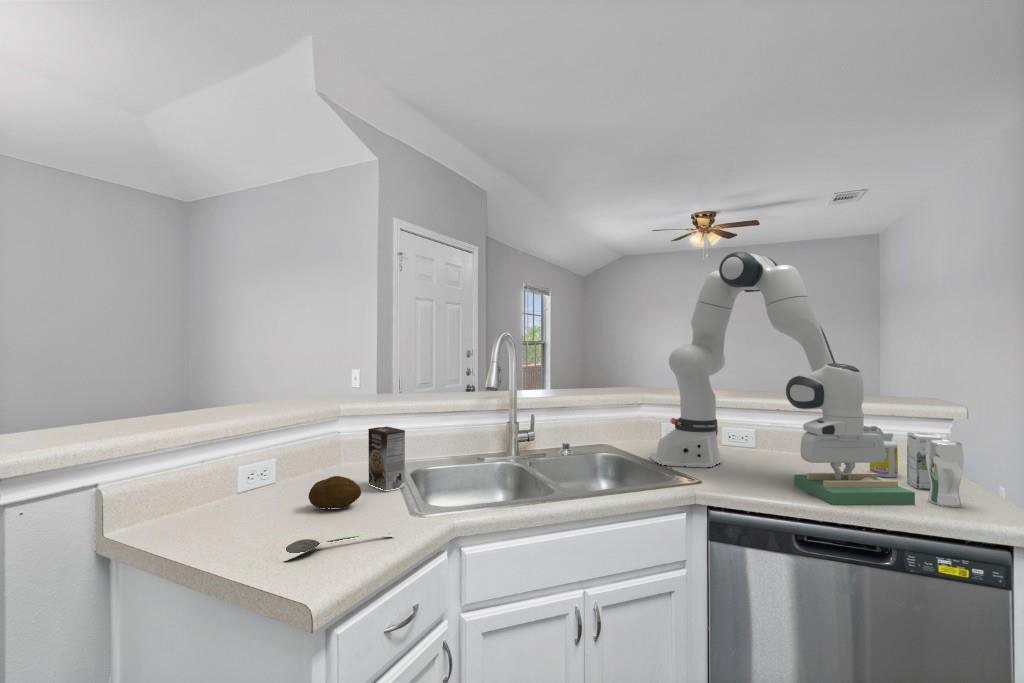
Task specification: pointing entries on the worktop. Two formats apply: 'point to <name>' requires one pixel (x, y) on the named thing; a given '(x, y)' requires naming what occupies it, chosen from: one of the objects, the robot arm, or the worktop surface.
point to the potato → (334, 493)
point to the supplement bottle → (887, 458)
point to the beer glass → (944, 471)
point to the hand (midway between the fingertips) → (842, 479)
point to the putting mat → (854, 489)
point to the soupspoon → (306, 545)
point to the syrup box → (918, 459)
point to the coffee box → (386, 457)
